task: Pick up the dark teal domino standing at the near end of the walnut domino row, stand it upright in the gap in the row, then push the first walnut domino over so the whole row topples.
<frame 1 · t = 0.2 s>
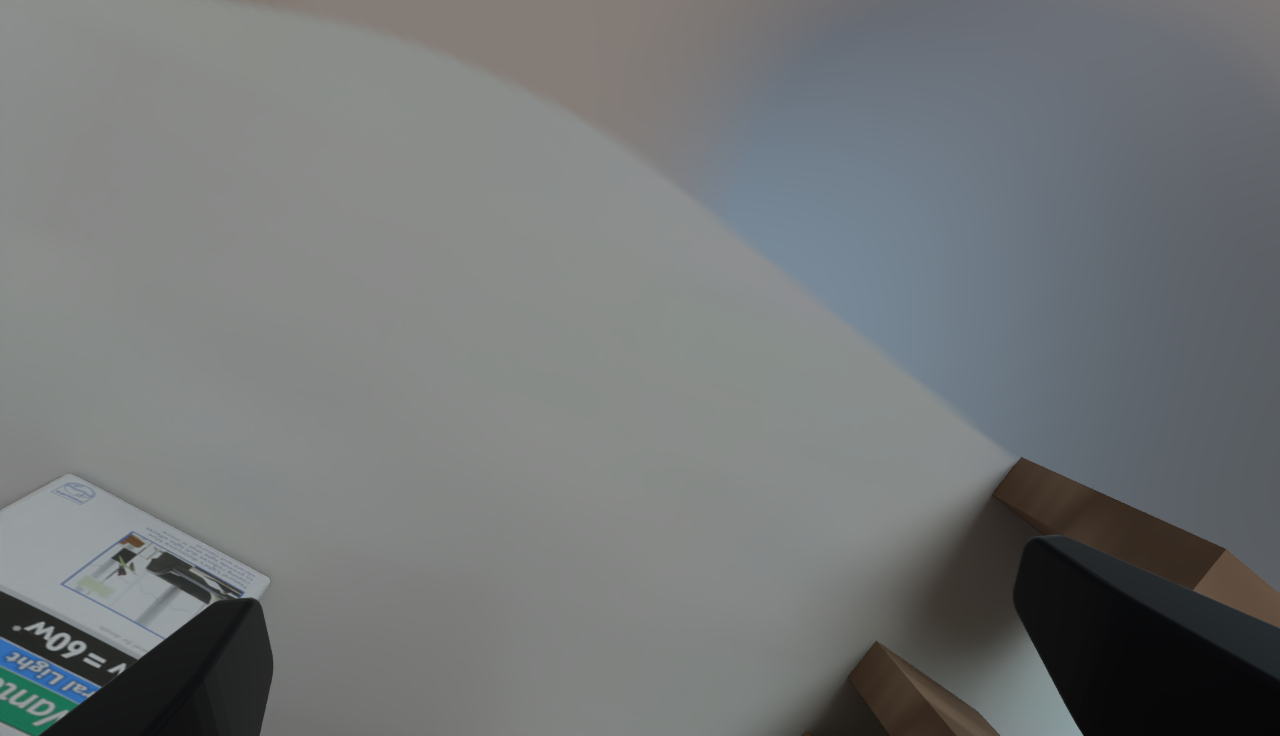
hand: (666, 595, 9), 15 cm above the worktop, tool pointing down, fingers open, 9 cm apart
light bulb box: (92, 662, 24), on the worktop
domino d: (1056, 515, 27), on the worktop
domino b: (914, 694, 28), on the worktop
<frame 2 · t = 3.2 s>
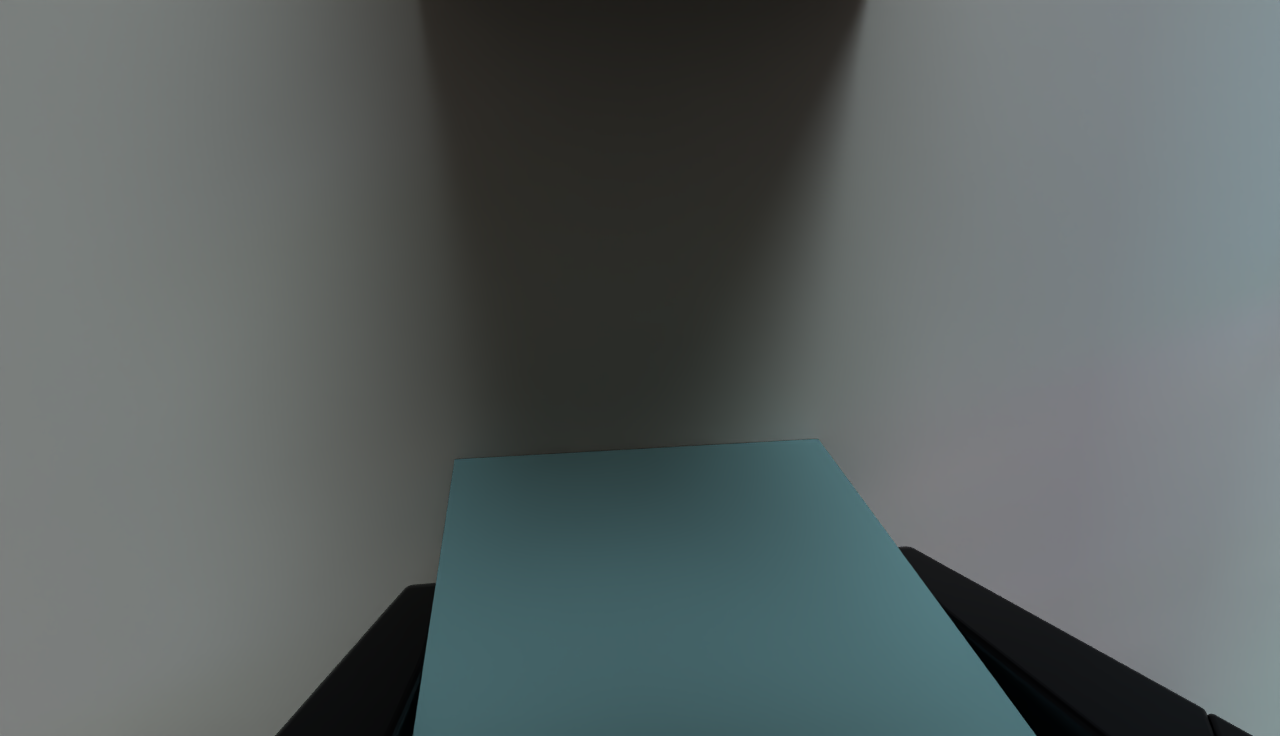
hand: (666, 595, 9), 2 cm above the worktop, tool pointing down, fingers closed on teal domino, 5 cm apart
teal domino: (641, 498, 11), on the worktop, touching gripper
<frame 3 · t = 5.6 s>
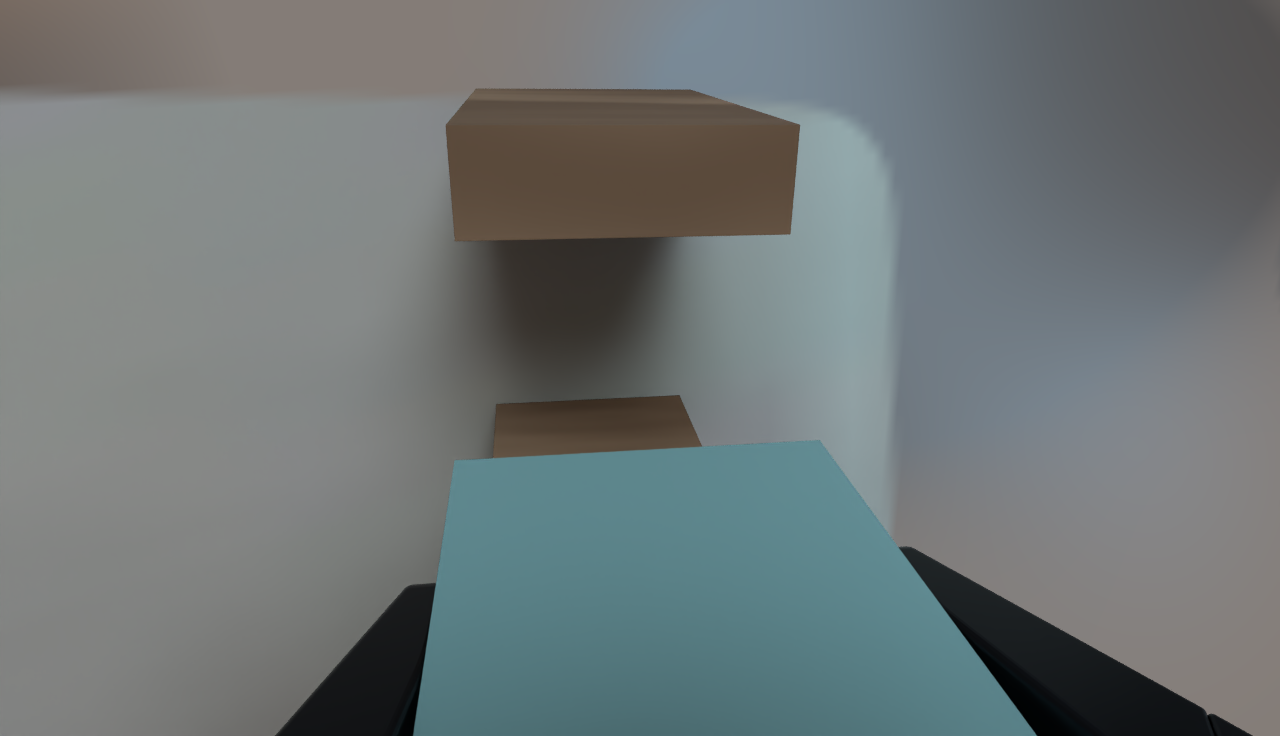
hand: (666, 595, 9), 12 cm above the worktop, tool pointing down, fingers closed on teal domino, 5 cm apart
domino d: (585, 124, 19), on the worktop
domino b: (589, 425, 22), on the worktop
teal domino: (641, 500, 11), point 10 cm above the worktop, touching gripper
when the fingers open (3 cm above the worktop, at t = 8.0 s): teal domino drops 1 cm, on the worktop.
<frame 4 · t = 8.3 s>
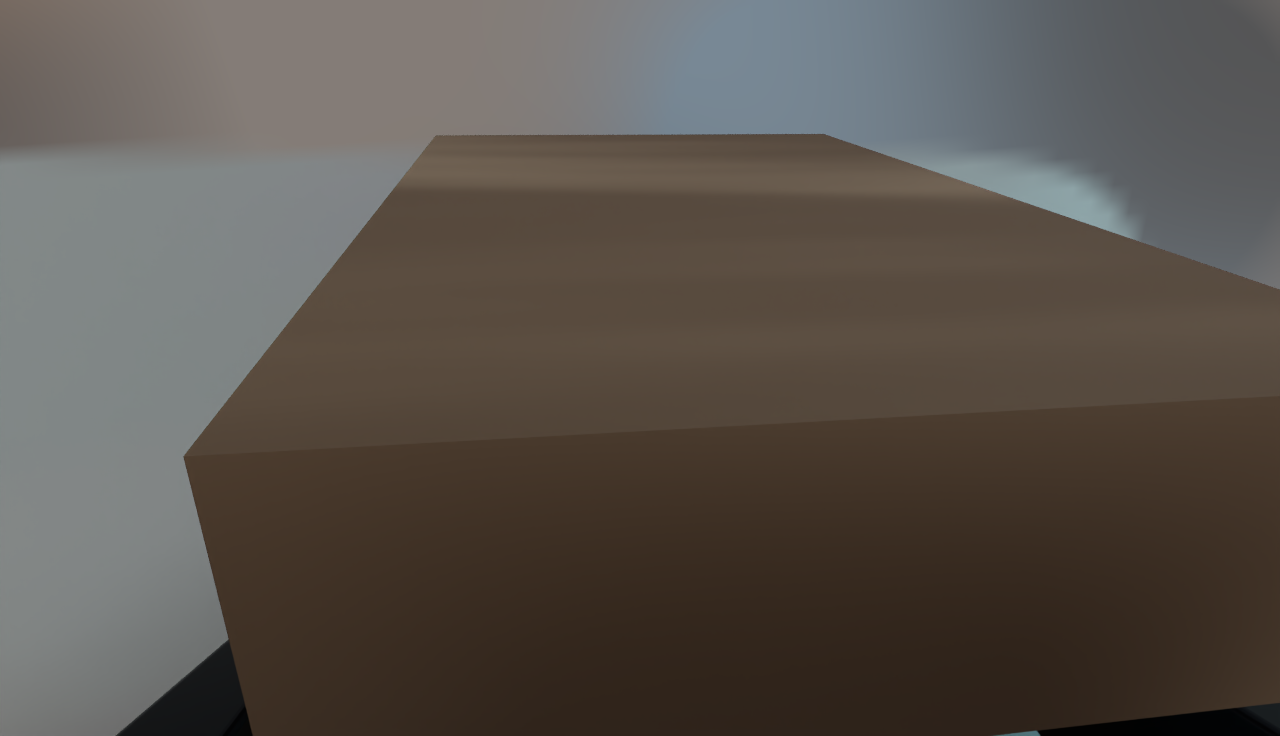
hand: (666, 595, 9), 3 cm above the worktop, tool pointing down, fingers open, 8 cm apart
domino d: (635, 197, 10), on the worktop
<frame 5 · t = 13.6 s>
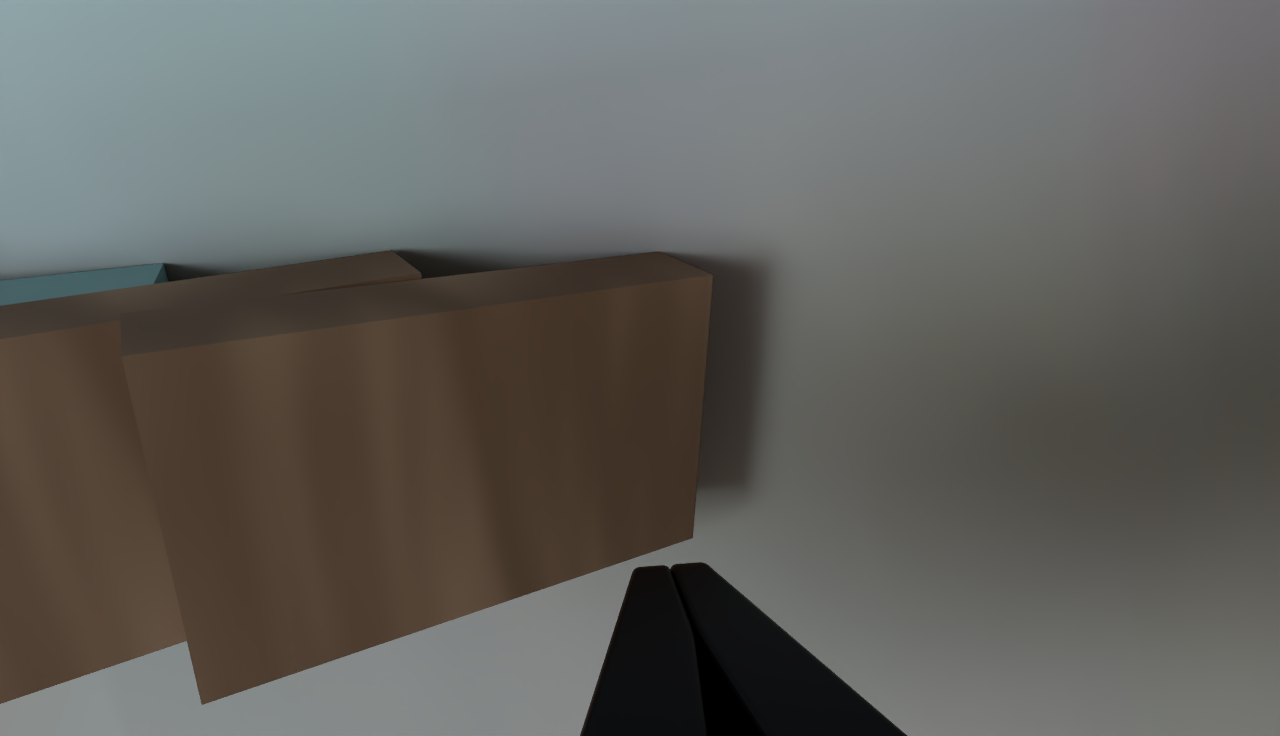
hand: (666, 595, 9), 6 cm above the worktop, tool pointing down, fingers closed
domino a: (676, 398, 14), point 1 cm above the worktop, tilted 67°, touching domino b
domino b: (424, 404, 13), point 1 cm above the worktop, tilted 66°, touching domino a, teal domino
teal domino: (196, 421, 13), point 1 cm above the worktop, tilted 75°, touching domino b, domino d
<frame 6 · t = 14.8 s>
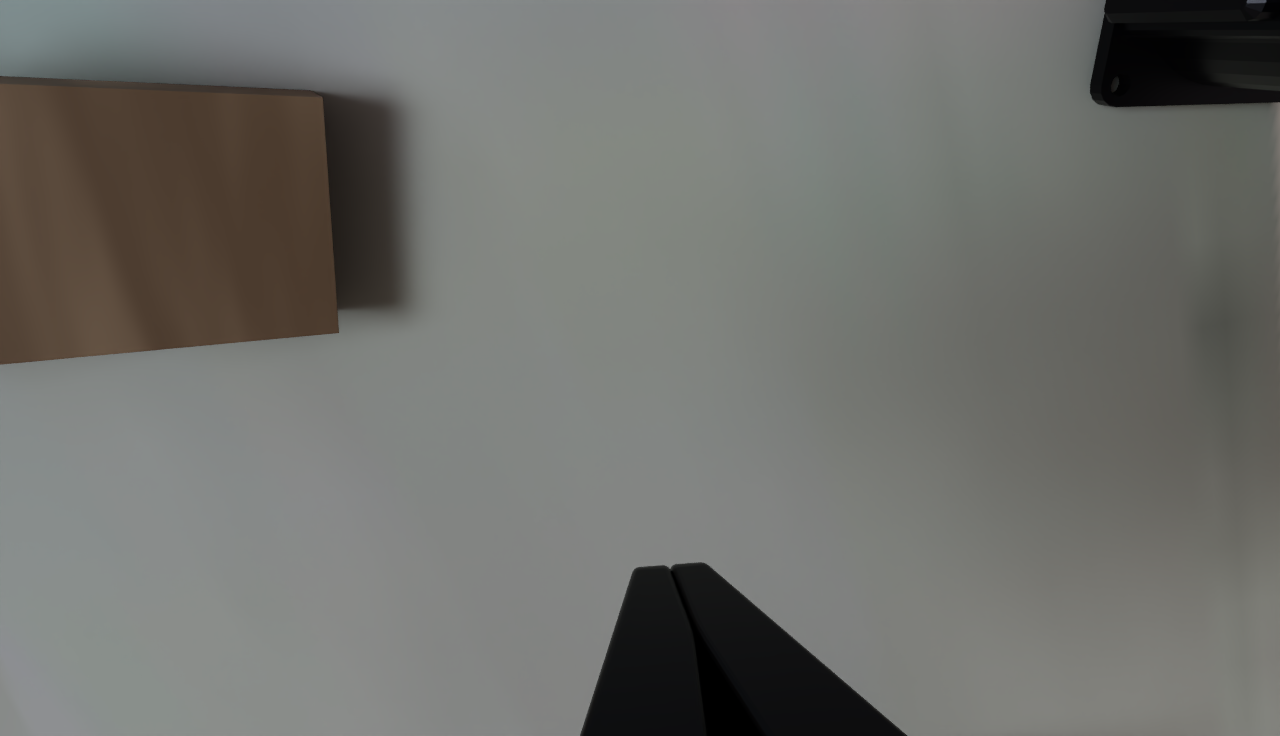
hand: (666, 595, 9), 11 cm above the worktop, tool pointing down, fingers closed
domino a: (324, 213, 17), point 1 cm above the worktop, tilted 69°, touching domino b
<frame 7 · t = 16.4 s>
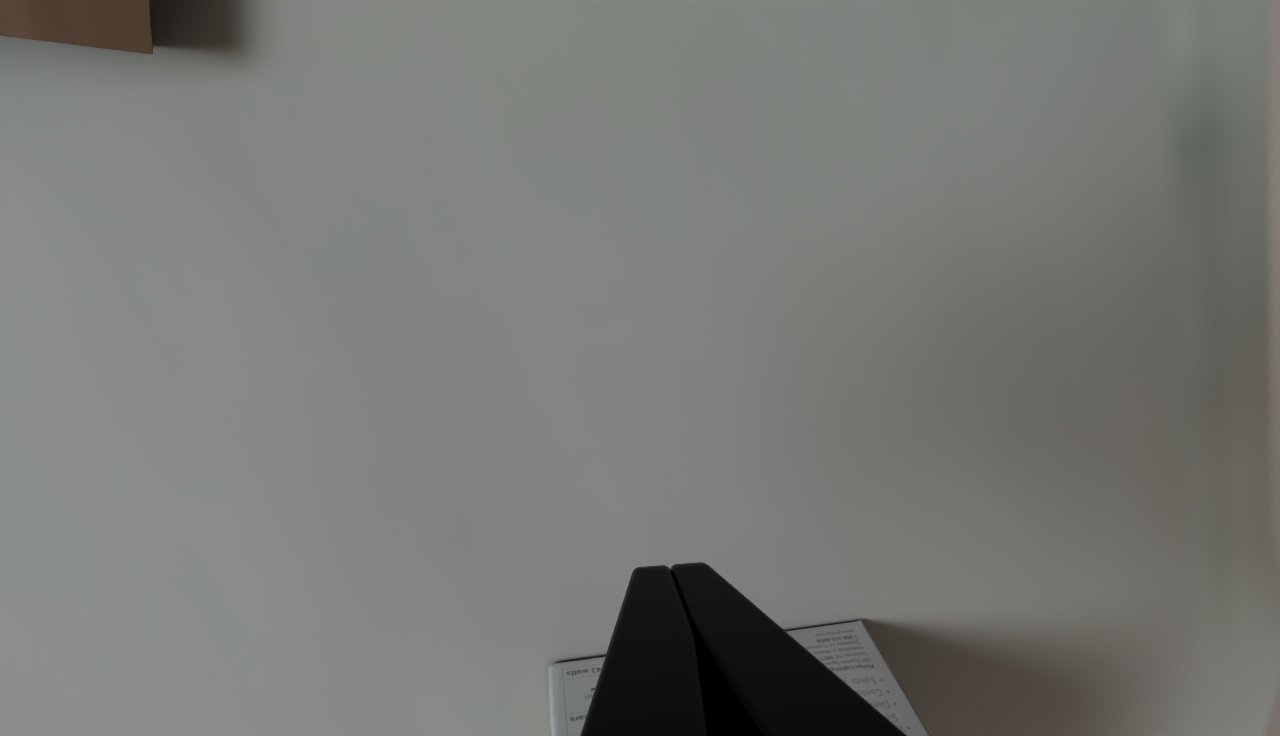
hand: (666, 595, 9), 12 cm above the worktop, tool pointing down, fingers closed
light bulb box: (708, 705, 27), on the worktop
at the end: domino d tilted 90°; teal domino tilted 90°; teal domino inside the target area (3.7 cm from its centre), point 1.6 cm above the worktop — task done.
